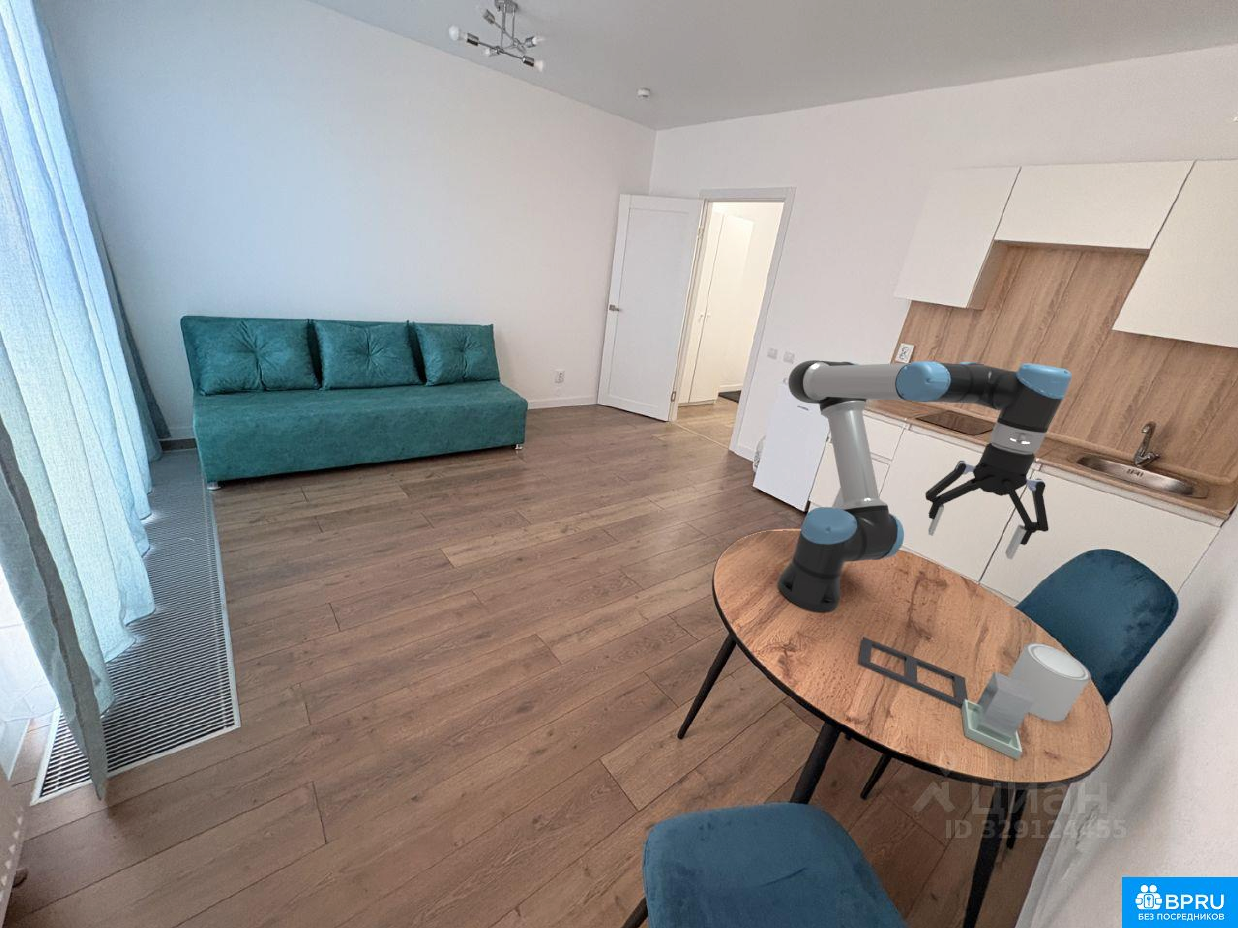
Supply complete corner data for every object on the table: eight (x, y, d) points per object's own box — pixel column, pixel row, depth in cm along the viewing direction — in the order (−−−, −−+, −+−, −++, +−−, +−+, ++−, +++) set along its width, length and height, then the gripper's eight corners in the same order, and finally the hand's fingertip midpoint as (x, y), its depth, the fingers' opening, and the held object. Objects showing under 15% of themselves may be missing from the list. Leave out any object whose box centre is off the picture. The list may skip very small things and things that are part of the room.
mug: (996, 663, 107) (1016, 626, 103) (1052, 683, 103) (1075, 646, 99) (1009, 705, 95) (1032, 666, 91) (1072, 730, 91) (1099, 690, 87)
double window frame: (858, 663, 102) (859, 660, 101) (861, 639, 109) (862, 636, 109) (967, 710, 93) (969, 706, 93) (962, 680, 100) (964, 677, 100)
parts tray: (964, 736, 87) (969, 728, 87) (961, 706, 94) (964, 698, 93) (1017, 759, 84) (1022, 752, 83) (1009, 727, 90) (1014, 719, 90)
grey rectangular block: (974, 732, 88) (998, 688, 84) (971, 713, 92) (994, 670, 88) (1006, 746, 86) (1033, 702, 81) (1002, 726, 90) (1027, 683, 86)
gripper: (936, 435, 91) (900, 530, 99) (1104, 472, 80) (1048, 575, 88) (934, 427, 97) (900, 517, 105) (1090, 460, 86) (1039, 558, 94)
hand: (968, 544), depth 97 cm, fingers open, 13 cm apart
